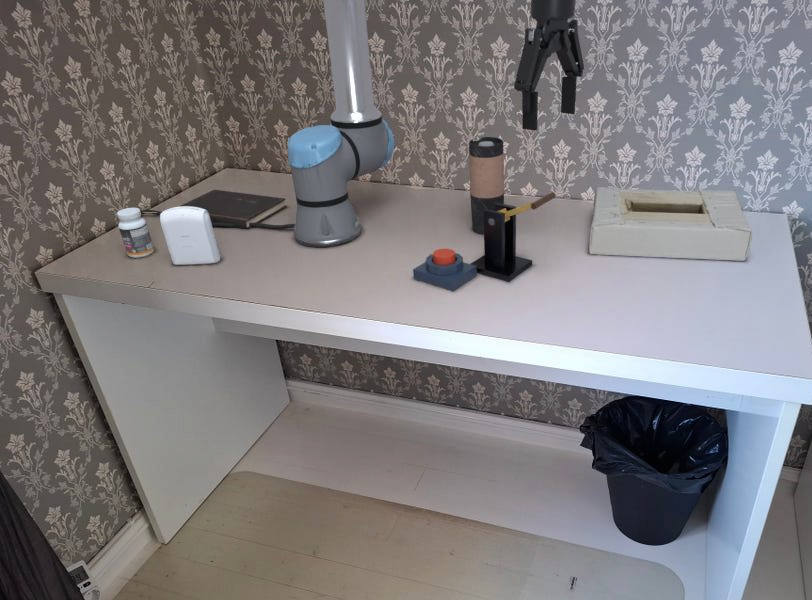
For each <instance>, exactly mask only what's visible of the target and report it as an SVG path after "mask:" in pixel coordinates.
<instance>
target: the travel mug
mask: <svg viewBox="0 0 812 600" xmlns="http://www.w3.org/2000/svg"><path fill="white" fill-rule="evenodd" d="M468 155H469V156H468V159H469V160H468V161H469V197H470V198H469V199H470V211H471V214H470V215H471V225H472V231H473V232H474V233H475V234H479V235H484V210H485V209H489V210H493V211H495V204H496V203H502V204H505V175H504V174H505V173H504V172H505V166H504V165H505V163H504V159H505V158H504V157H505V156H504V140H503V139H502V138H500V137H494V136H482V137H480V139H478V140H473V139H471V140H469V142H468Z"/></svg>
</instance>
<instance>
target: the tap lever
mask: <svg viewBox="0 0 812 600" xmlns="http://www.w3.org/2000/svg"><path fill="white" fill-rule="evenodd" d="M555 197H556V193H555V191H550V192H549V193H547V194H546V195H544V196H542V197H541V198H538V199H536V200H534V201H533V200H532V201H531V202H528V203H525V204H523V205H520V206H518V207H517V206H516V208H515V209H512V210H509V211H507V210H506V208H504V209H501V210H499V211H498V212H502V213H505V222H506V221H508V220H510V216H512V215H515V214H516V215H518V214H520V213H523V212H526V211H528V210H531V209H532V210H534V211H535V210H537V209H539V208H540V207H542V206H543V205H545V204H547V203H548V202H550V201H551V200H553V199H555Z"/></svg>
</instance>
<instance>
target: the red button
mask: <svg viewBox="0 0 812 600" xmlns="http://www.w3.org/2000/svg"><path fill="white" fill-rule="evenodd" d="M455 253H456V251H455V250H453V249H452V248H438V249H436V250H434V251H433V252H432V254H433V262H434V263H435V264H439V265H447V264H452V263H454V262H455Z"/></svg>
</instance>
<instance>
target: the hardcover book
mask: <svg viewBox="0 0 812 600" xmlns="http://www.w3.org/2000/svg"><path fill="white" fill-rule="evenodd" d="M285 201H286V198H283V197H277V196H268V195H262V194H261V195H259V194H253V193H244V192H237V191H231V190H230V191H229V190H222V189H221V190H220V189H212V190H210V191H208V192H205V193H204V194H202V195H200V196H198V197H195V198H193V199H192V200H189V201H187V202H185V203H183V204H181V205H178V207H180V206H191V207H198V208H202V209H205V210H207V211H208V213H209V216H210V219H211V222H217V223H231V224H233V225H235V227H234V228H239V229H245V230H246V229H247V230H249V229H251V228H252V227H251V226H249V223H263V221H265V220H266V219H269V218H270V217H273V216H274V215H275V214H277V213H279V212H281V211H283V210H284V209H286V208H287V207H288V206H287V205H286V204H285Z"/></svg>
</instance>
